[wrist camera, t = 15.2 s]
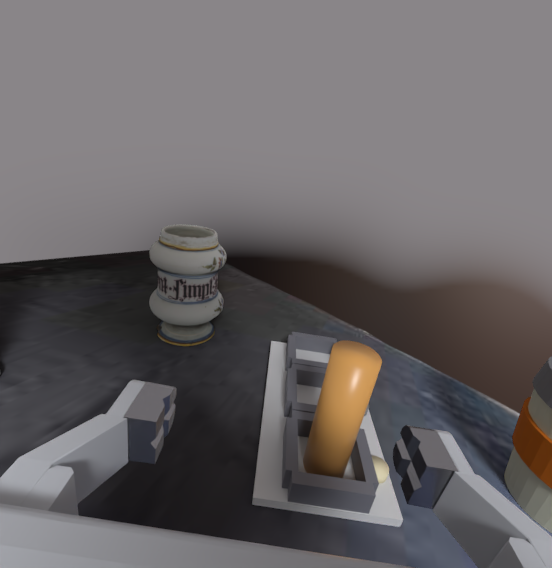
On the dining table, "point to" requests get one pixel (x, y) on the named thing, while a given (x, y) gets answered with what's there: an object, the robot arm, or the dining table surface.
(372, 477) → the board
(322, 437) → the orange rounded cylinder
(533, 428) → the reusable coffee cup
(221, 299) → the apothecary jar
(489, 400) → the dining table surface
